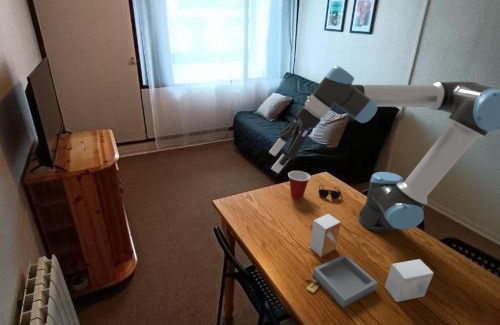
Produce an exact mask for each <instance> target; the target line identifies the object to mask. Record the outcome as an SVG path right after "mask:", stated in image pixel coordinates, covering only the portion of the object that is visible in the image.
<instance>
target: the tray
mask: <svg viewBox="0 0 500 325" xmlns="http://www.w3.org/2000/svg"><path fill="white" fill-rule="evenodd" d="M312 277H313V278H314V279H315V280H316V279H317V280H318V281H317V280H316V281H317V282H318V284H319V285H321V287H323V289H324V291H326V292H327V293H328V294H329V295H330V297H332V298H333V300H335V302H336V303H337V304H338V305H339V306H340V307H341V309H345V308H347V307H349V306H350V305H352V304H354V303H355V302H357V301H359V300H361V299H362V298H365V297H366V296H368V295H370V294H371V293H373V292H375V291H377V287H378V284H379V282H378V281H377V280H376V279H374V278H373V277H372V276H371V275H370V274H369V273H367V272H366V271H365V270H364V269H363V268H362V267H361V266H359V265H358V263H356V262H355V261H354V260H352V258H350V257H349V256H348V255H347V254H342V255H340V256H338V257H335V258H334V259H331V260H329V261H326V262H325V263H322V264H321V265H318V266H316V267H314V268H313V271H312Z"/></svg>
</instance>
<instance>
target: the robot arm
mask: <svg viewBox="0 0 500 325" xmlns="http://www.w3.org/2000/svg"><path fill="white" fill-rule="evenodd" d="M354 81H355V77H354V76H353V75H352V74H350V72H348V71H347V70H345V69H344V68H343V67H341V66H339V65H334V66H333V67H331V69H330V70H329V71H328V72H327V73H326V74H325V76H324V77H323V79H322V80H321V81H320V83H319V84H318V85H317V87H316V88H315V90H314V91H313V92H312V93H311V95H309V96H307V98H306V99H307V100H306V101H305V103H304V105H303V106H301V108H300V109H299V110H298V112H297V113H296V116H295V118H294V120H293V121H292V122H290V124H288V125H287V126H286V127H285V128H284V129H283V130H282V131H281V132H280V136H279V138H278V139H277V141H276V142H275V143H274V144H273V145H272V147H271V149H270V150H269V152H268V153H269V154H270V155H272V156H274V157H276V156H277V155H278V153H279V152H280V151H281V149H282V148H283V147H284V146H285V144H286V143H287V142H289V144H288V145H287V147H286V150H285V151H283V152H282V154H281V155H280V157H279V158H278V159H277V161H275V163H274V164H273V165H272V167H270V168H271V170H272V171H273V172H275V173H277V174H279V173H280V172H281V171H282V169H283V168H284V167H285V166H286V164H287V163H288V162H289V161H290V160H291V161H292V160H295V158H296V156H297V155H298V153H299V151H300V149H301V148H302V146H303V144H304V142H305V141H306V139H307V138H308V136H309V135H310V132H309V131H308V129H309V128H311V129H316V128H317V126H318V125H319V124H320V123H321V121H322V119H324V118H325V117H326V116H327V115H328V114H329V112H330V111H331V110H332V108H333V106H335V105H336V107H338V108H340V109H341V110H342V111H343V112H345V113H347V115H349V116H350V117H352V118H353V119H354V120H356V121H357V122H359V123H361V124H365V123H367V122H369V121H370V120H371V119H372V118H373V117H374V116H375V115H376V113H377V111H378V107H381V108H382V107H389V108H390V107H391V108H393V107H396V108H398V107H399V108H400V107H401V108H429V110H432V111H441V112H446V113H449V114H450V115H449V117H447V120H448V126H447V127H446V129H444V131H443V132H442V133H441V134H440V136H439V138H437V140H436V141H435V142H434V143H433V145H432V146H431V147H430V149H429V150H428V151H427V152H426V154H425V155H424V156H423V157H422V159H421V160H420V161H419V163H418V164H417V165H416V166H415V167H414V169H413V170H412V171H411V173H410V174H409V175H408V177H407V178H405V180H404V179H403V177H402V176H401V175H399V174H396V173H392V172H388V171H379V172H374V173H373V174H372V175H371V178H370V181H369V186H368V191H367V197H366V200H365V201H366V202H365V204H364V205H363V206H362V208H361V209H360V211H359V212H358V217H357V219H358V222H359V223H360V225H361V226H363V227H364V228H366V229H367V230H370V231H372V232H375V233H381V234H388V233H391V232H393V231H395V230H396V229H397V230H408V229H409V230H410V229H413V228H416V227H417V226H419V224H421V223H422V222H423V220H424V218H425V216H424V215H425V214H424V210H423V209H424V207H425V206H427V204H428V199H427V198H428V196H429V195H430V193H431V192H432V191H433V190H434V189H435V188H436V186H438V185H439V183H440V181H441V180H442V179H443V178H444V177H445V175H447V173H448V172H449V171H450V170H451V169H452V167H453V166H454V165H455V164H456V163H457V162H458V160H459V159H460V158H461V157H462V155H464V153H465V152H466V151H468V148H470V146H471V145H472V144H473V143H474V142H475V141H476V140H477V139H482V138H485V137H486V136H487V134H489V132H496V131H498V130H500V89H498V88H495V87H491V86H487V85H483V84H480V83H478V82H474V81H438V82H437V81H435V82H433V83H432V84H353V82H354ZM289 139H290V141H289Z"/></svg>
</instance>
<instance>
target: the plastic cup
mask: <svg viewBox="0 0 500 325" xmlns="http://www.w3.org/2000/svg"><path fill="white" fill-rule="evenodd" d="M287 175H288V178H289V189H290V196H291V198H292V199H294V200H301V199H303V197H304V195H305V192H306V190H307V185H308V182H309V180H310V179H311V177H312V176H311V175H310V174H309V173H308V172H304V171H301V170H292V171H289V172H288V173H287Z"/></svg>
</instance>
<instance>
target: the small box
mask: <svg viewBox="0 0 500 325" xmlns="http://www.w3.org/2000/svg"><path fill="white" fill-rule="evenodd" d="M340 229H341V221H340V220H338V218H336V217H334V216H332V214H330V213H327V214H325V215H322V216H320V217H318V218H316V219H314V220H313V222H312V228H311V234H310V235H311V237H310V242H309V243H310V244H309V249H311V250H312V251H313V252H315V254H317V255H318V256H319V257H320V258H322V257H323V256H326V255H327V254H329V253H331V252H333V251H335V250H336V249H337V245H338V240H339V234H340Z"/></svg>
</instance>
